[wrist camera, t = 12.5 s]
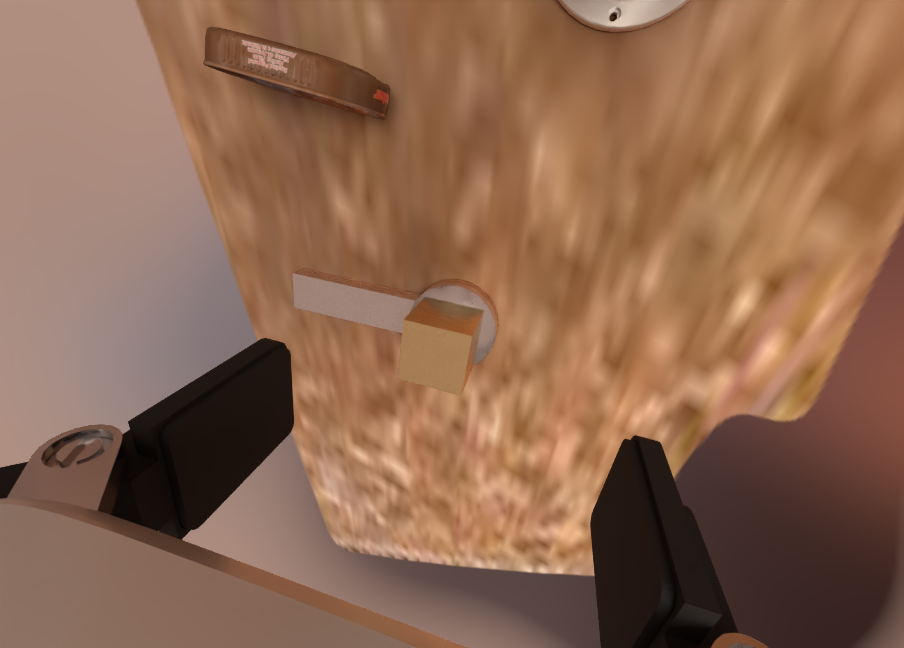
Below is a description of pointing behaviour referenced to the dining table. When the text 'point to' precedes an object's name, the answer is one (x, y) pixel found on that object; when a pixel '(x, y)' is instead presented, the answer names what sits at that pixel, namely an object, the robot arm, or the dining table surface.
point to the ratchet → (388, 302)
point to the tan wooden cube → (439, 344)
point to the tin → (296, 72)
